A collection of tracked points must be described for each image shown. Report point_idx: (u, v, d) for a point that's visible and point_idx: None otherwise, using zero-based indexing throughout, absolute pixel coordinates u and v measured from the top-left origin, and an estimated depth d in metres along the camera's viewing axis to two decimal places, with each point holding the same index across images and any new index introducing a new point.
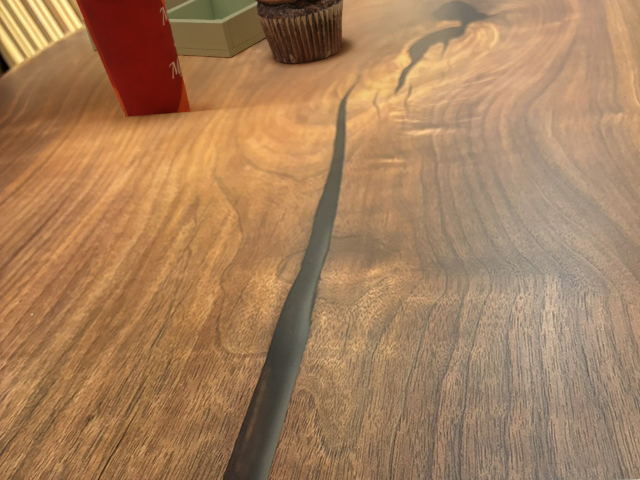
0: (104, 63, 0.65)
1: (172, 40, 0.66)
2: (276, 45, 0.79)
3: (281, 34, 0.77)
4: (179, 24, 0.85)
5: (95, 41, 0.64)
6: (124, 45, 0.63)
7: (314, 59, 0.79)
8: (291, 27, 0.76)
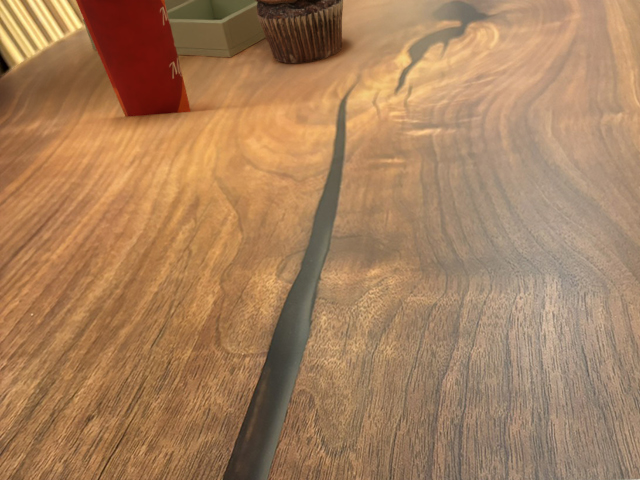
0: (104, 63, 0.65)
1: (172, 40, 0.66)
2: (276, 45, 0.79)
3: (281, 34, 0.77)
4: (179, 24, 0.85)
5: (95, 41, 0.64)
6: (124, 44, 0.63)
7: (314, 59, 0.79)
8: (291, 27, 0.76)
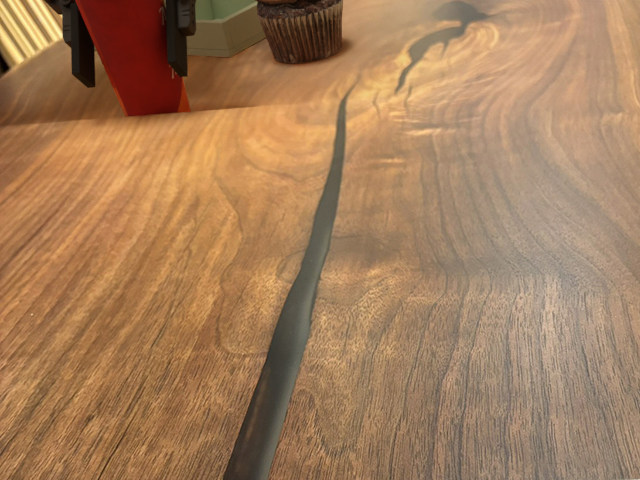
0: (104, 63, 0.65)
1: None
2: (276, 45, 0.79)
3: (281, 34, 0.77)
4: None
5: (95, 41, 0.64)
6: (124, 45, 0.63)
7: (314, 59, 0.79)
8: (291, 27, 0.76)
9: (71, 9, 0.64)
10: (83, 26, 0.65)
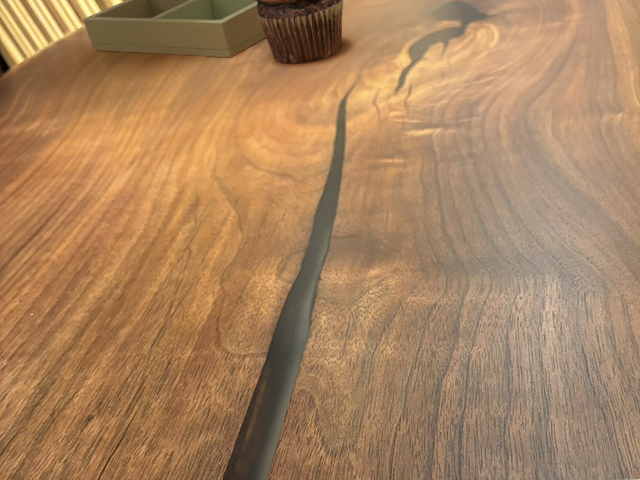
0: None
1: None
2: (276, 45, 0.79)
3: (281, 34, 0.77)
4: (179, 24, 0.85)
5: None
6: None
7: (314, 59, 0.79)
8: (291, 27, 0.76)
9: None
10: None
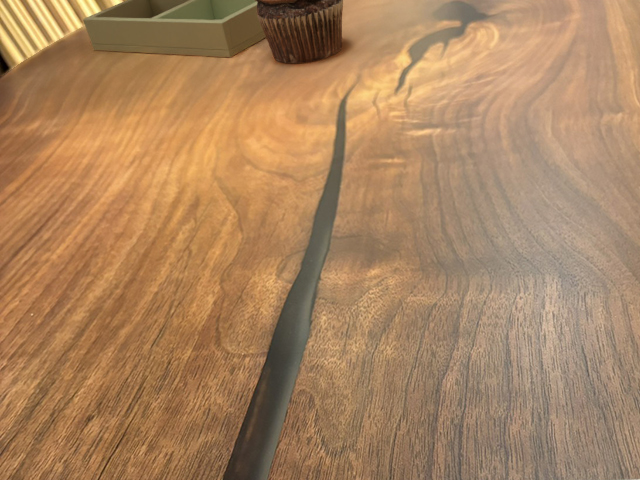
0: None
1: None
2: (276, 45, 0.79)
3: (281, 34, 0.77)
4: (179, 24, 0.85)
5: None
6: None
7: (314, 59, 0.79)
8: (291, 27, 0.76)
9: None
10: None
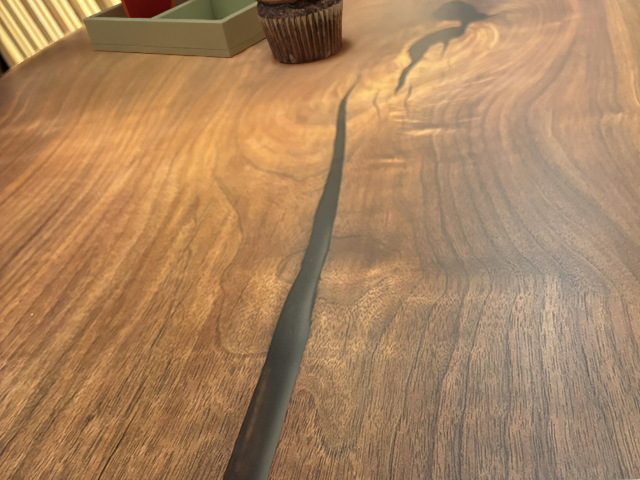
0: None
1: None
2: (276, 45, 0.79)
3: (281, 34, 0.77)
4: (179, 24, 0.85)
5: None
6: None
7: (314, 59, 0.79)
8: (291, 27, 0.76)
9: None
10: None
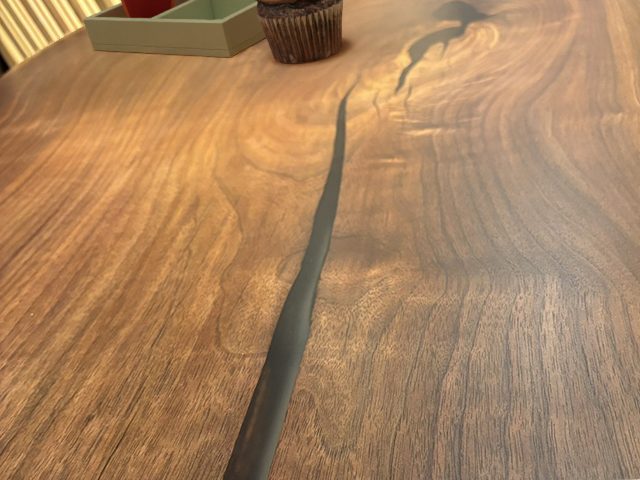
0: None
1: None
2: (276, 45, 0.79)
3: (281, 34, 0.77)
4: (179, 24, 0.85)
5: None
6: None
7: (314, 59, 0.79)
8: (291, 27, 0.76)
9: None
10: None
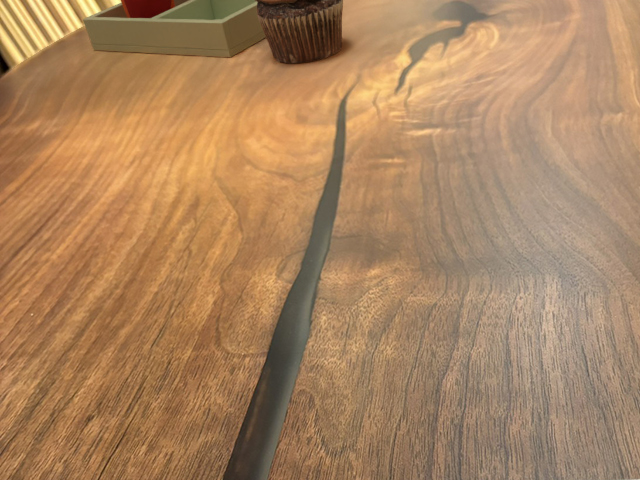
0: None
1: None
2: (276, 45, 0.79)
3: (281, 34, 0.77)
4: (179, 24, 0.85)
5: None
6: None
7: (314, 59, 0.79)
8: (291, 27, 0.76)
9: None
10: None
